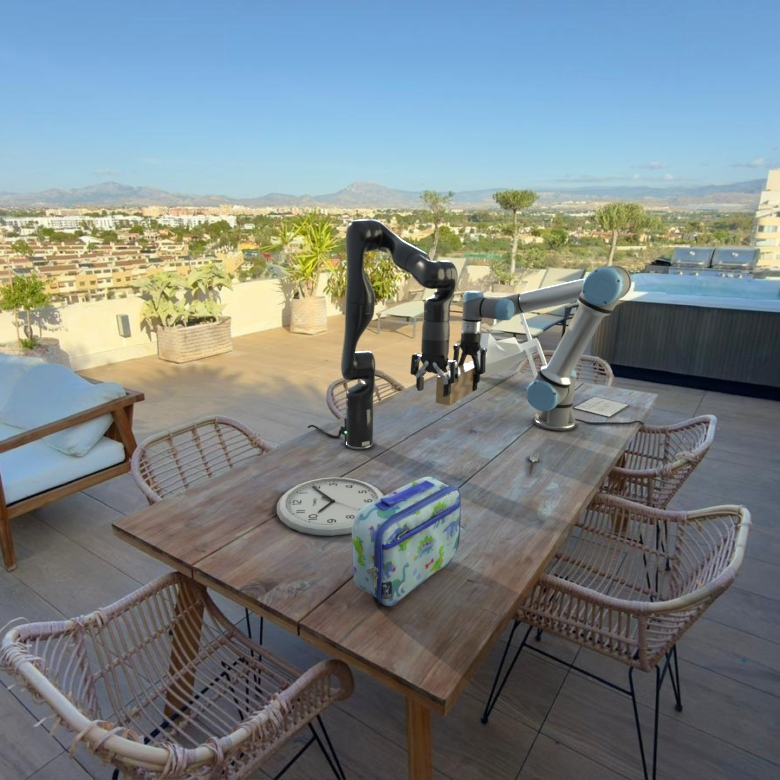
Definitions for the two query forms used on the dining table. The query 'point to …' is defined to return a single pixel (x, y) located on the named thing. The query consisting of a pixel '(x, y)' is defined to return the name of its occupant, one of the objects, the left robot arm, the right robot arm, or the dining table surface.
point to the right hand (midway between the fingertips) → (467, 388)
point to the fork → (533, 461)
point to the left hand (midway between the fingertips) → (433, 393)
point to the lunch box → (405, 538)
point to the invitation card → (601, 406)
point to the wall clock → (325, 505)
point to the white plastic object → (509, 352)
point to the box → (457, 385)
